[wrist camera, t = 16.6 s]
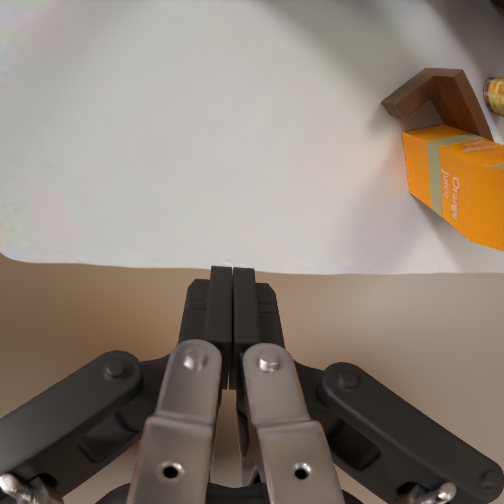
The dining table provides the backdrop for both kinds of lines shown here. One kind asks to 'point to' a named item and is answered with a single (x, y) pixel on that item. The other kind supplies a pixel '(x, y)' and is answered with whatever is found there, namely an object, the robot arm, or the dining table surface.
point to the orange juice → (459, 180)
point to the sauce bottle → (495, 95)
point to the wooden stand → (441, 99)
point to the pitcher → (499, 3)
